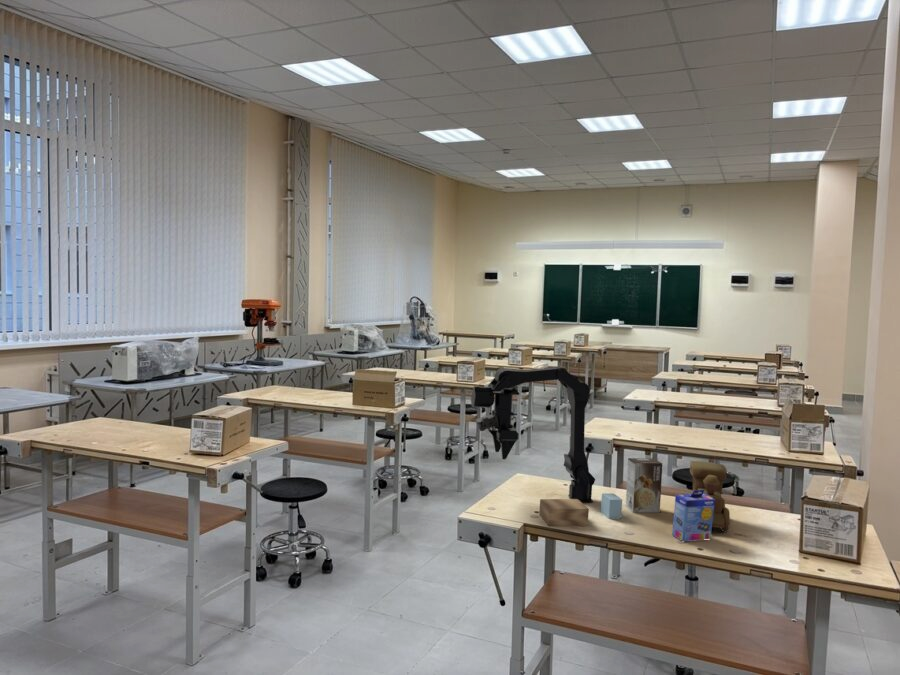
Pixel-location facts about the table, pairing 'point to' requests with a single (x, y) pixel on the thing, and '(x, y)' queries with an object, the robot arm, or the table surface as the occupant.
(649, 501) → the coffee box
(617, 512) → the block
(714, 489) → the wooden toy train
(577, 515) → the brown wooden block
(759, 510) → the table surface
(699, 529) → the ink cartridge box
